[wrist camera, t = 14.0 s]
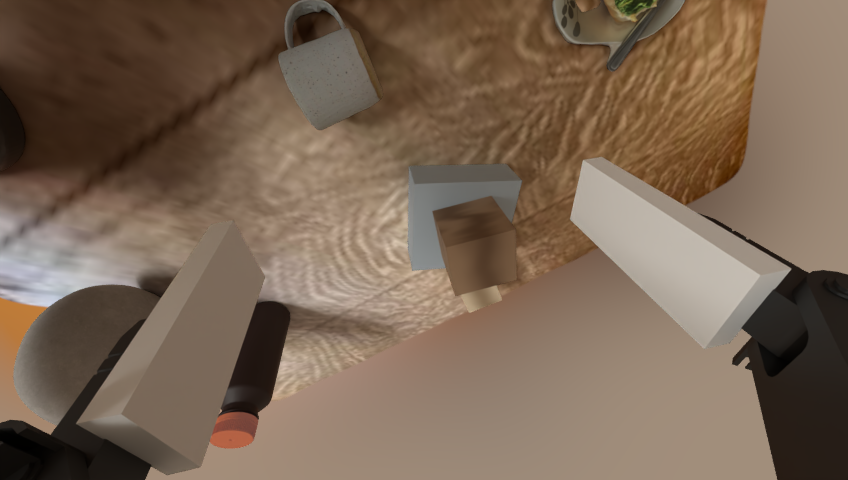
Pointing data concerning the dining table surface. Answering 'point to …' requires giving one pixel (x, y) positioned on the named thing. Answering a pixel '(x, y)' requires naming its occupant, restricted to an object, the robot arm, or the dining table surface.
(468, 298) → the maple cube
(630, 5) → the salad plate
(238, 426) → the bottle
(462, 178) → the slate block
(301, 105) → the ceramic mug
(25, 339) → the grey round disc
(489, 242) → the walnut cube
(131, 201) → the dining table surface
